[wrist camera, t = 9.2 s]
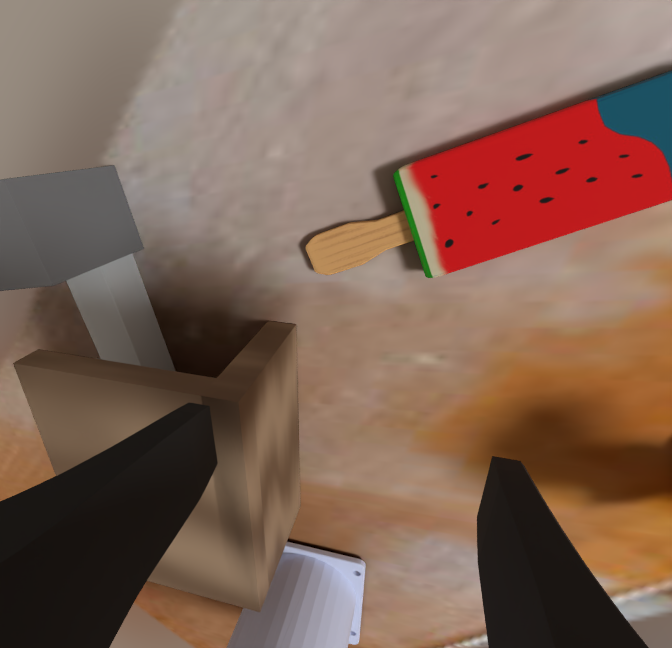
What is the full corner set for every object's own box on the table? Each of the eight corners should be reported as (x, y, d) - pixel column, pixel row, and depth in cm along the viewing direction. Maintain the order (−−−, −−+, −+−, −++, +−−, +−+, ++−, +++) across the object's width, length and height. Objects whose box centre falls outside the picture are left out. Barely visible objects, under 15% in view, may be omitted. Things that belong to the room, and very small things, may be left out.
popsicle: (285, 214, 17) (729, 37, 12) (296, 207, 19) (702, 45, 13) (326, 309, 19) (737, 190, 13) (333, 297, 20) (711, 184, 15)
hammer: (217, 454, 26) (165, 528, 21) (164, 452, 27) (104, 521, 23) (114, 165, 19) (4, 179, 14) (49, 177, 20) (-74, 194, 16)
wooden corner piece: (300, 505, 26) (260, 612, 21) (162, 475, 28) (90, 564, 23) (296, 324, 21) (238, 402, 15) (123, 302, 23) (12, 363, 17)
